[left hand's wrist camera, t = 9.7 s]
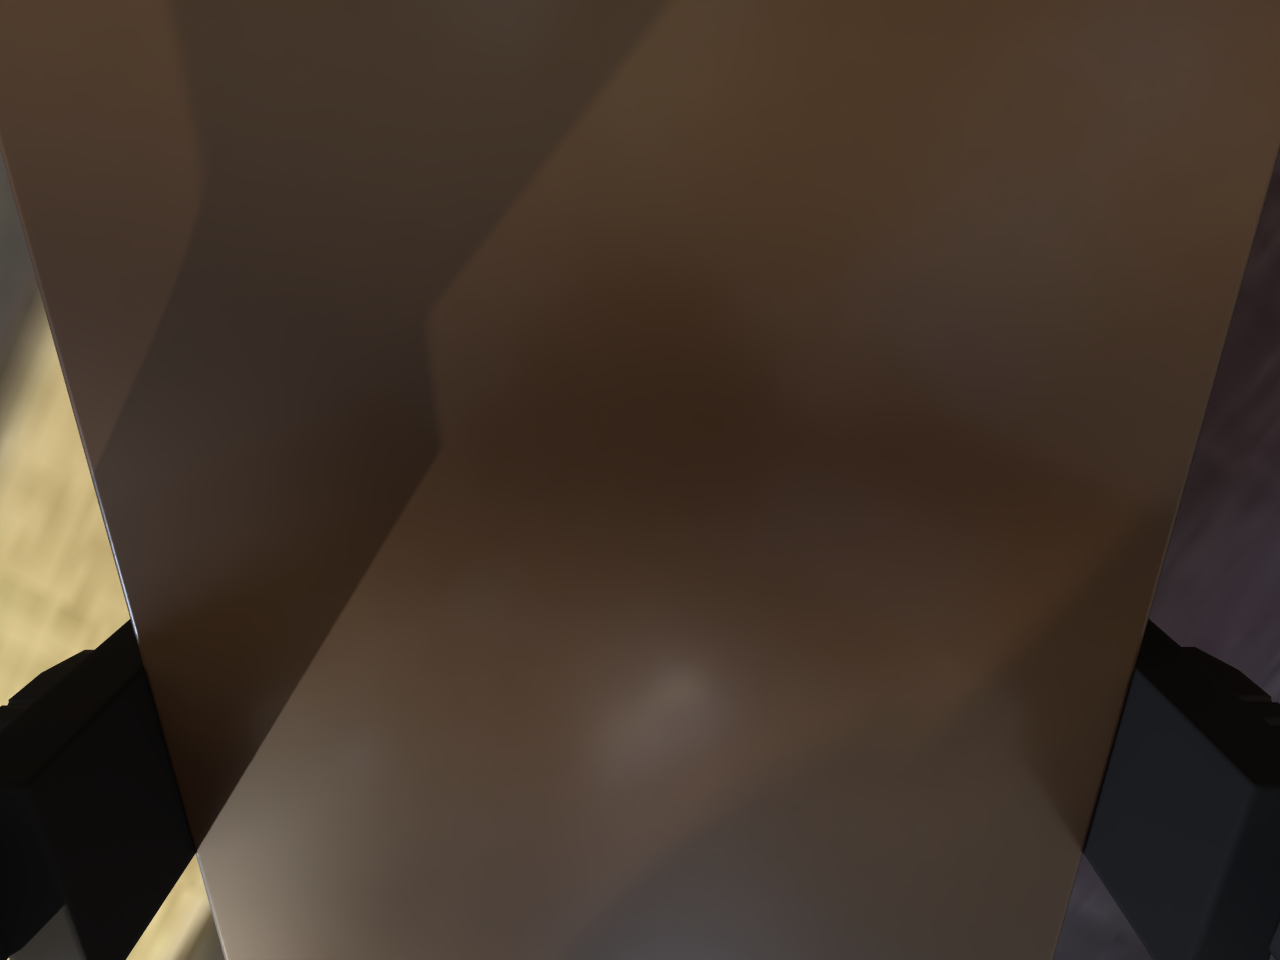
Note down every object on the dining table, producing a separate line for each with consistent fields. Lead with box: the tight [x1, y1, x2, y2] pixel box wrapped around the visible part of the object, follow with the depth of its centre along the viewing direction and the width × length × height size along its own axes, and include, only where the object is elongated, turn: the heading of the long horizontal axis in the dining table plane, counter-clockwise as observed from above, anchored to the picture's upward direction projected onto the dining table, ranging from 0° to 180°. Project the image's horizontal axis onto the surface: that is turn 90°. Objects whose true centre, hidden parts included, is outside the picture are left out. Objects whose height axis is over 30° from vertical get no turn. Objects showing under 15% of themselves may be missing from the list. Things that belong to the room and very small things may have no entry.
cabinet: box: [0, 0, 1280, 960], centre depth 11 cm, size 18×11×8 cm, turn 0°
